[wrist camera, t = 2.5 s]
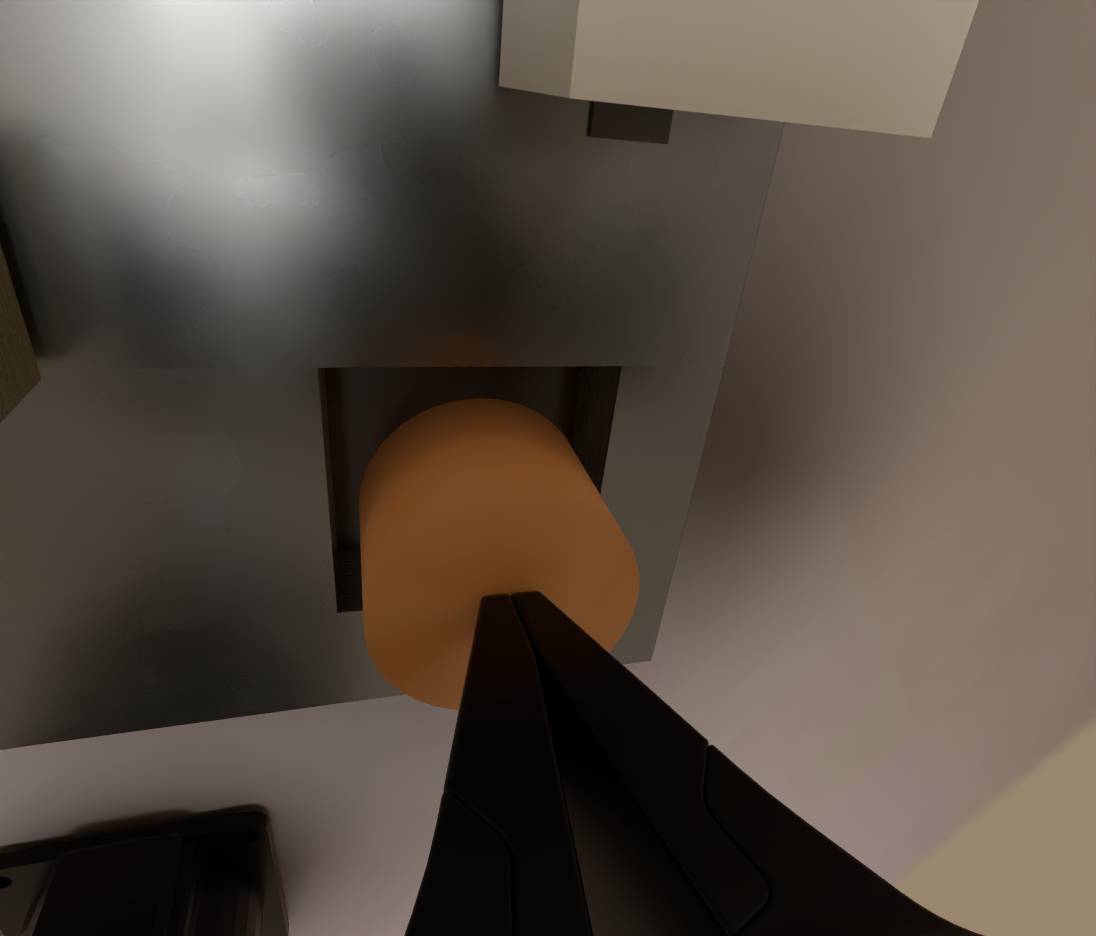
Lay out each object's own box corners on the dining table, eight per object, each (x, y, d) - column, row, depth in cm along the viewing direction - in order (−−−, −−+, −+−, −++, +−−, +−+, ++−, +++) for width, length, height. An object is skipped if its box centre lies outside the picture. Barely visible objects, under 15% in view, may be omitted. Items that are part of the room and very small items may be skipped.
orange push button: (567, 575, 14) (617, 690, 11) (363, 594, 12) (369, 727, 10) (592, 396, 12) (662, 487, 9) (353, 400, 10) (357, 506, 8)
